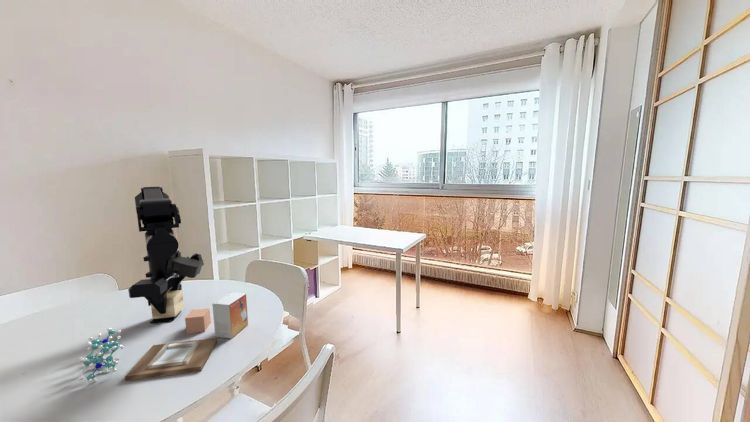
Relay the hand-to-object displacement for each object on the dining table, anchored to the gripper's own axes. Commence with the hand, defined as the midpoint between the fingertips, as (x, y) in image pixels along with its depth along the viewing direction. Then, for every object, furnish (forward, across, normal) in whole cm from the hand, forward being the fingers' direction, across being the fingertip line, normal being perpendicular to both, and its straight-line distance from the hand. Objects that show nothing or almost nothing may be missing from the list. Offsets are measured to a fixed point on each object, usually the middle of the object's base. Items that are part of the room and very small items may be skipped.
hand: (168, 308), depth 73 cm
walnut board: (+13, -2, -1) cm, 13 cm away
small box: (+13, +9, -12) cm, 20 cm away
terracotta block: (+13, +13, -1) cm, 18 cm away
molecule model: (+13, -1, +15) cm, 20 cm away
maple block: (+1, 0, 0) cm, 1 cm away
